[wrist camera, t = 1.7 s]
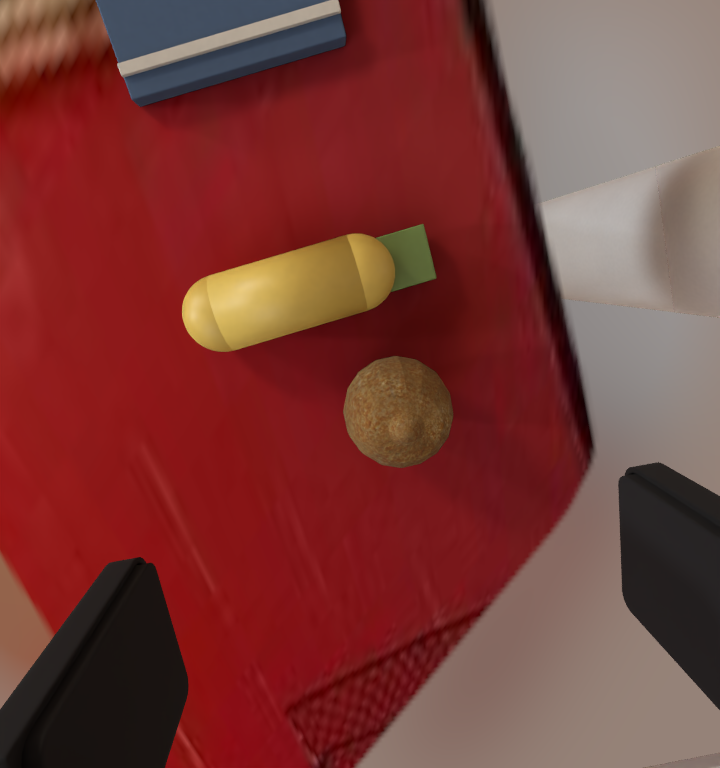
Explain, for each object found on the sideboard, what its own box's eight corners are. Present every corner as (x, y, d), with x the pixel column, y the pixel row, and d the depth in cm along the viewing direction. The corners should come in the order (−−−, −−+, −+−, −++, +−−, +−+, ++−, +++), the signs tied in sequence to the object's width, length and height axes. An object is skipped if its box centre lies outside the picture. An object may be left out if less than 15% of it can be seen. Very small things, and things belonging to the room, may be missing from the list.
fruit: (325, 369, 31) (325, 402, 23) (415, 330, 31) (444, 351, 23) (363, 452, 33) (375, 509, 25) (449, 416, 33) (487, 462, 25)
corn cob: (415, 216, 29) (430, 207, 25) (432, 287, 31) (450, 290, 26) (183, 285, 29) (158, 288, 25) (208, 354, 30) (189, 367, 26)
